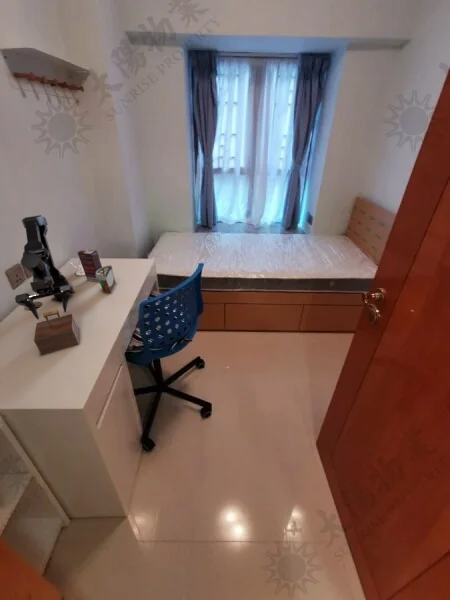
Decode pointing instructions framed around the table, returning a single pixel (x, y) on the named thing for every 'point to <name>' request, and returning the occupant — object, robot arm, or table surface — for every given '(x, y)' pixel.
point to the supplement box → (90, 263)
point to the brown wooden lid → (53, 326)
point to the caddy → (58, 341)
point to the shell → (80, 270)
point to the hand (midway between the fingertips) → (51, 315)
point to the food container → (106, 278)
